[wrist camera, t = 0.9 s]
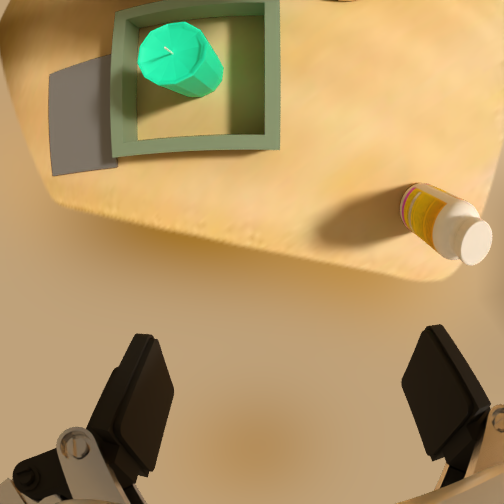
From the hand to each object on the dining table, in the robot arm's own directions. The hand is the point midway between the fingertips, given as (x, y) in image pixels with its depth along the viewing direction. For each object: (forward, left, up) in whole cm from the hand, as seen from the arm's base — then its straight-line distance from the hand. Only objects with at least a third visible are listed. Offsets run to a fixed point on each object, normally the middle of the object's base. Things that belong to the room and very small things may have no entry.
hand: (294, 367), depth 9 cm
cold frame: (-14, -8, -26) cm, 31 cm away
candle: (-14, -8, -27) cm, 31 cm away
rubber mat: (-11, -24, -26) cm, 38 cm away
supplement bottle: (+1, +20, -27) cm, 33 cm away
